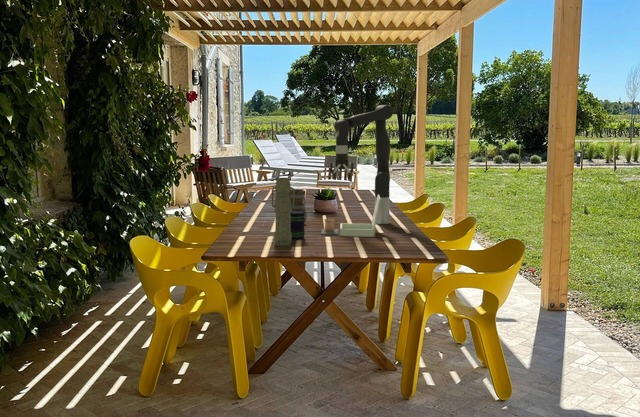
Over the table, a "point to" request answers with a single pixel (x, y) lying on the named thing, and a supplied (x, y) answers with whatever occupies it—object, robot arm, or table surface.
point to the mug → (298, 200)
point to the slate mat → (330, 232)
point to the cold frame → (361, 226)
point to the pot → (329, 225)
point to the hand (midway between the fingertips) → (341, 179)
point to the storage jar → (297, 225)
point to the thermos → (283, 211)
